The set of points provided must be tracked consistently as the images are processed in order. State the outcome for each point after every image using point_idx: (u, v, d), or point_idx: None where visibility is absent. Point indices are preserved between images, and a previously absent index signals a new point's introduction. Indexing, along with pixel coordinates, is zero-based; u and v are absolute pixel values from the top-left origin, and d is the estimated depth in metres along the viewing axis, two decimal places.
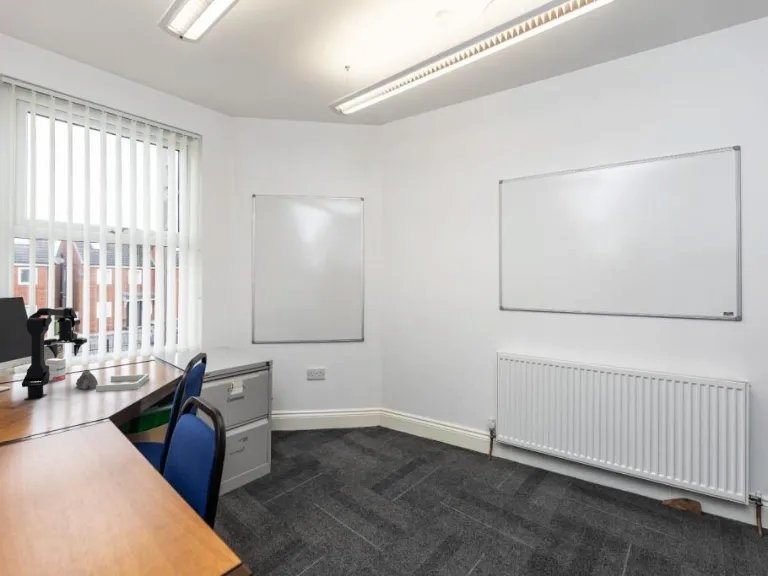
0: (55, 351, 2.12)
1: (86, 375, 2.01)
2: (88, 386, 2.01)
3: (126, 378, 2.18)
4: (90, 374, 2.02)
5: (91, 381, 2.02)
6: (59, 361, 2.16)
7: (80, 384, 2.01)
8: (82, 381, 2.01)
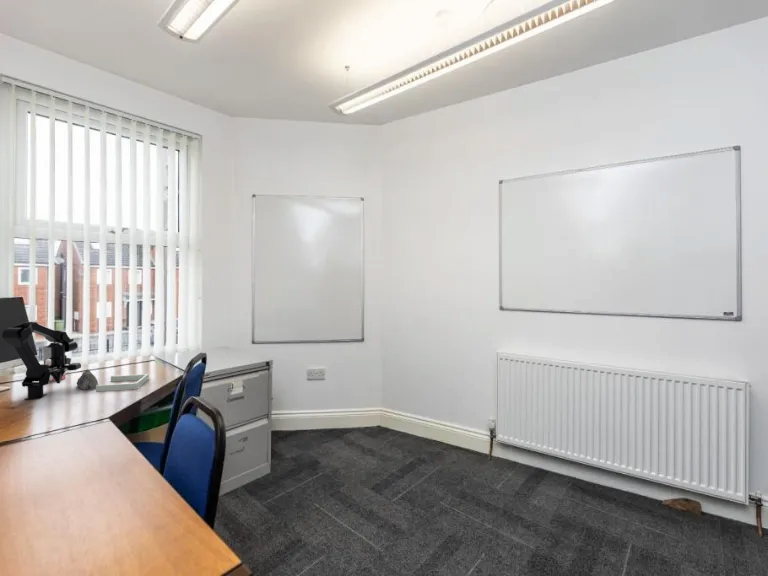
0: None
1: (86, 375, 2.01)
2: (88, 386, 2.01)
3: (126, 378, 2.18)
4: (90, 374, 2.02)
5: (92, 381, 2.02)
6: None
7: (80, 384, 2.01)
8: (82, 381, 2.01)
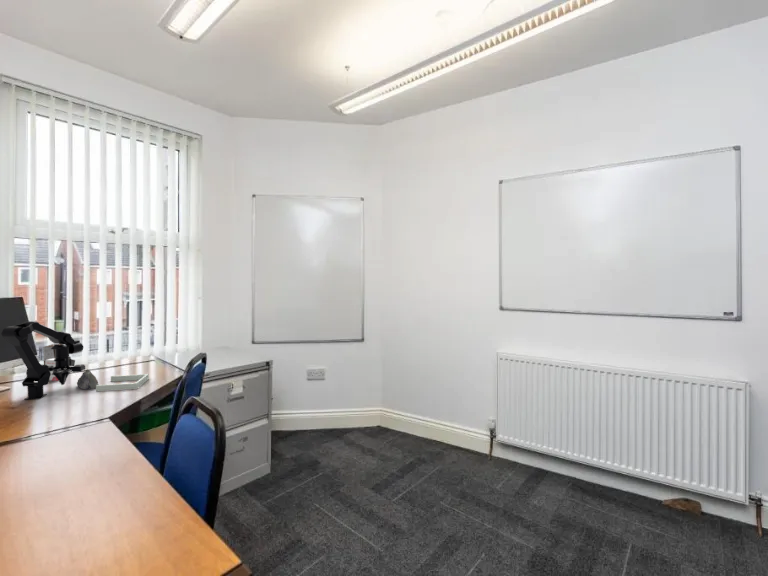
0: (61, 379, 2.02)
1: (86, 375, 2.01)
2: (88, 386, 2.01)
3: (126, 378, 2.18)
4: (90, 374, 2.02)
5: (92, 381, 2.02)
6: None
7: (81, 384, 2.01)
8: (82, 381, 2.01)
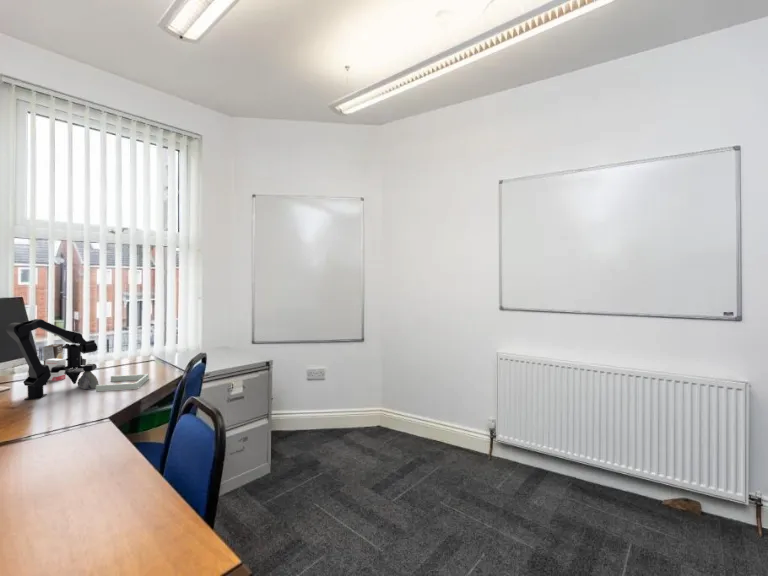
0: None
1: (87, 375, 2.01)
2: (89, 386, 2.01)
3: (126, 378, 2.18)
4: (91, 374, 2.02)
5: (92, 381, 2.02)
6: (59, 361, 2.16)
7: (81, 384, 2.01)
8: (83, 381, 2.02)
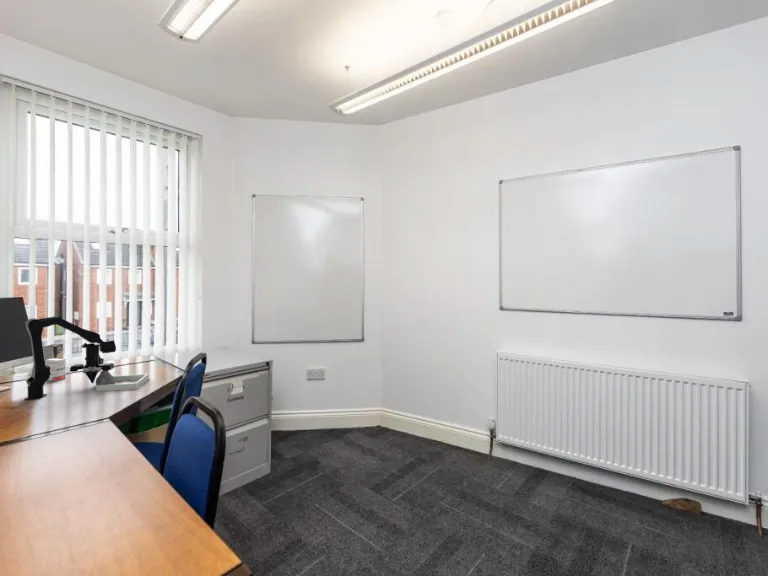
0: (91, 377, 2.05)
1: (104, 374, 2.03)
2: None
3: (126, 378, 2.18)
4: (108, 373, 2.03)
5: (109, 380, 2.04)
6: (59, 361, 2.16)
7: (98, 383, 2.03)
8: (100, 380, 2.03)
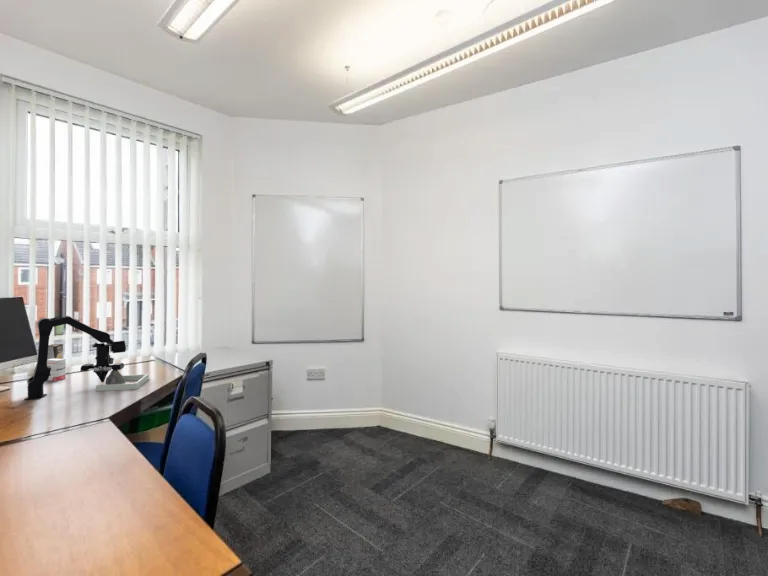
0: None
1: (114, 374, 2.04)
2: None
3: (126, 378, 2.18)
4: (117, 373, 2.05)
5: (119, 380, 2.05)
6: (59, 361, 2.16)
7: (108, 382, 2.04)
8: (110, 379, 2.04)
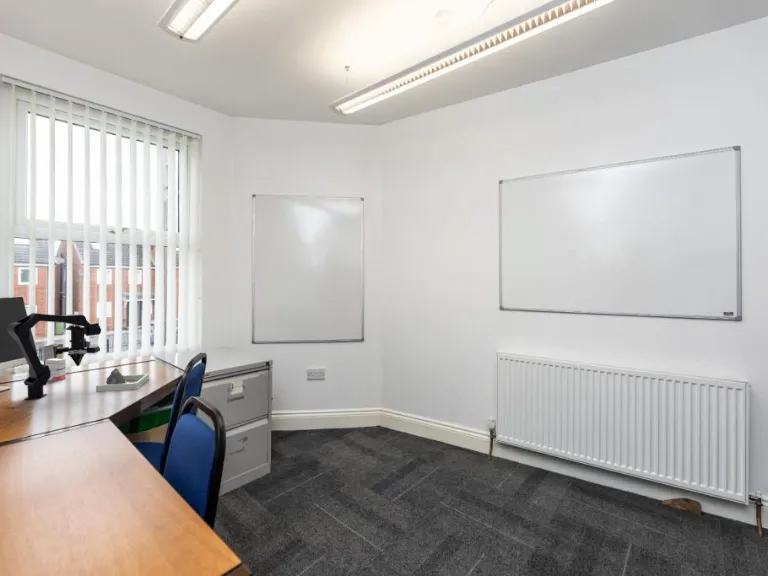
0: None
1: (114, 374, 2.04)
2: None
3: (126, 378, 2.18)
4: (118, 373, 2.05)
5: (119, 380, 2.05)
6: (59, 361, 2.16)
7: (109, 382, 2.04)
8: (111, 380, 2.05)
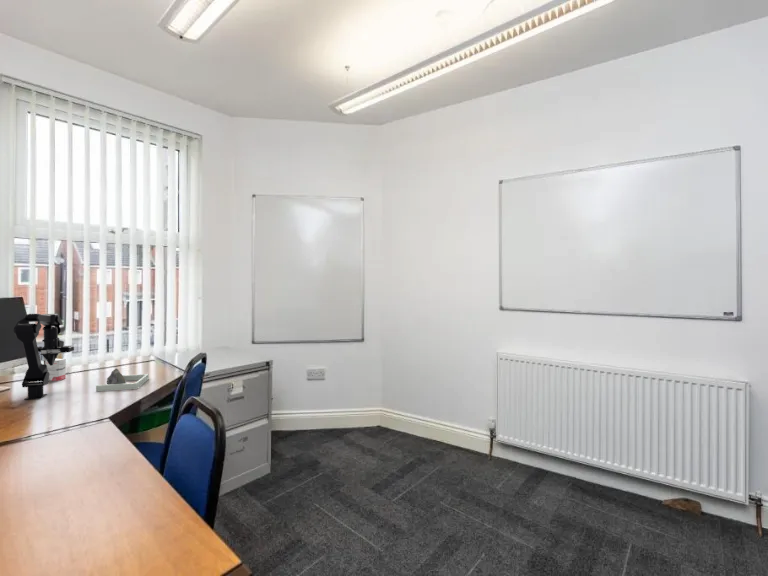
0: None
1: (114, 374, 2.04)
2: None
3: (126, 378, 2.18)
4: (118, 373, 2.05)
5: (119, 380, 2.05)
6: (59, 361, 2.16)
7: (109, 382, 2.04)
8: (111, 380, 2.05)
